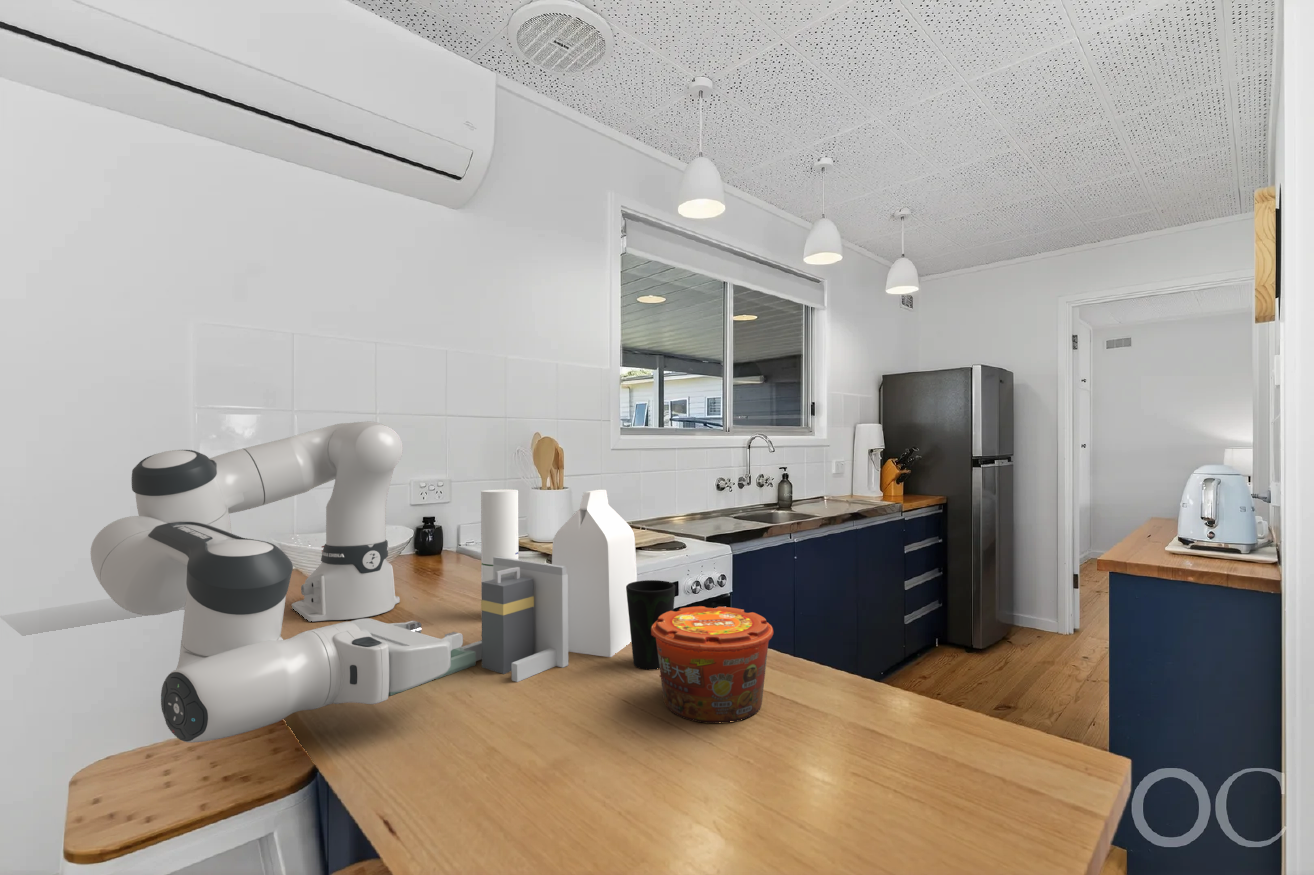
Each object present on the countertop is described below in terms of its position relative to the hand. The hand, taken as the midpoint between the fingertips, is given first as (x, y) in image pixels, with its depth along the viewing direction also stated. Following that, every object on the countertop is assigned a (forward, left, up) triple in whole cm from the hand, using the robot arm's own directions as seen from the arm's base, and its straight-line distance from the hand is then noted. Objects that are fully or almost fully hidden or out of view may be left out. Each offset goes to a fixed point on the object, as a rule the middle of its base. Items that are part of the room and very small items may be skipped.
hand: (438, 632), depth 84 cm
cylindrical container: (-22, +29, -8) cm, 38 cm away
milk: (+4, +28, -8) cm, 30 cm away
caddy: (0, +12, -8) cm, 15 cm away
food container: (+33, +18, -8) cm, 39 cm away
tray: (-11, +2, -8) cm, 14 cm away
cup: (+18, +25, -8) cm, 32 cm away
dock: (0, +12, -8) cm, 15 cm away
